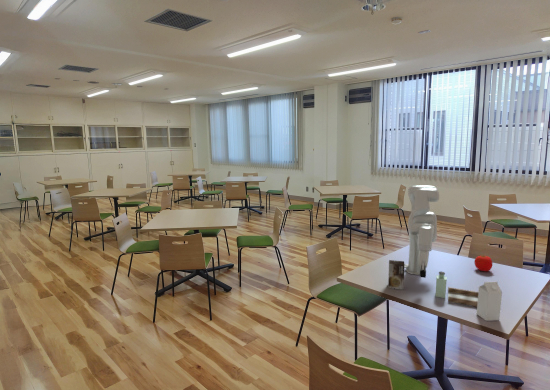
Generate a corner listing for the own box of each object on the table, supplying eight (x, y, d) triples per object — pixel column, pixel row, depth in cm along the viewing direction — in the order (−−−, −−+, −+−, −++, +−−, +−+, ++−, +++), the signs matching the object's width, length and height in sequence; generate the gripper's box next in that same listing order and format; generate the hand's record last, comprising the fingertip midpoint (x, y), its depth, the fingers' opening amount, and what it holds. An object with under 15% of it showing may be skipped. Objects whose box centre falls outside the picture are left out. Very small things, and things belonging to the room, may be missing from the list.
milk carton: (476, 314, 174) (479, 279, 171) (489, 313, 174) (492, 278, 171) (486, 321, 167) (489, 285, 164) (499, 320, 167) (502, 284, 164)
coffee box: (403, 285, 209) (404, 261, 206) (403, 290, 203) (404, 264, 200) (388, 283, 212) (389, 259, 209) (387, 288, 206) (388, 263, 203)
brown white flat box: (448, 301, 187) (448, 295, 186) (447, 291, 200) (448, 285, 199) (490, 309, 178) (491, 302, 177) (487, 298, 191) (488, 291, 190)
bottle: (435, 296, 194) (436, 273, 192) (435, 292, 199) (437, 270, 197) (445, 298, 192) (446, 274, 190) (445, 294, 196) (446, 271, 194)
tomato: (494, 271, 231) (496, 256, 230) (487, 274, 226) (489, 259, 224) (478, 266, 240) (479, 252, 238) (471, 269, 234) (472, 255, 233)
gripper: (418, 243, 204) (416, 271, 206) (416, 249, 191) (414, 280, 193) (432, 244, 200) (430, 273, 203) (431, 251, 187) (429, 282, 190)
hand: (422, 276), depth 198 cm, fingers closed
